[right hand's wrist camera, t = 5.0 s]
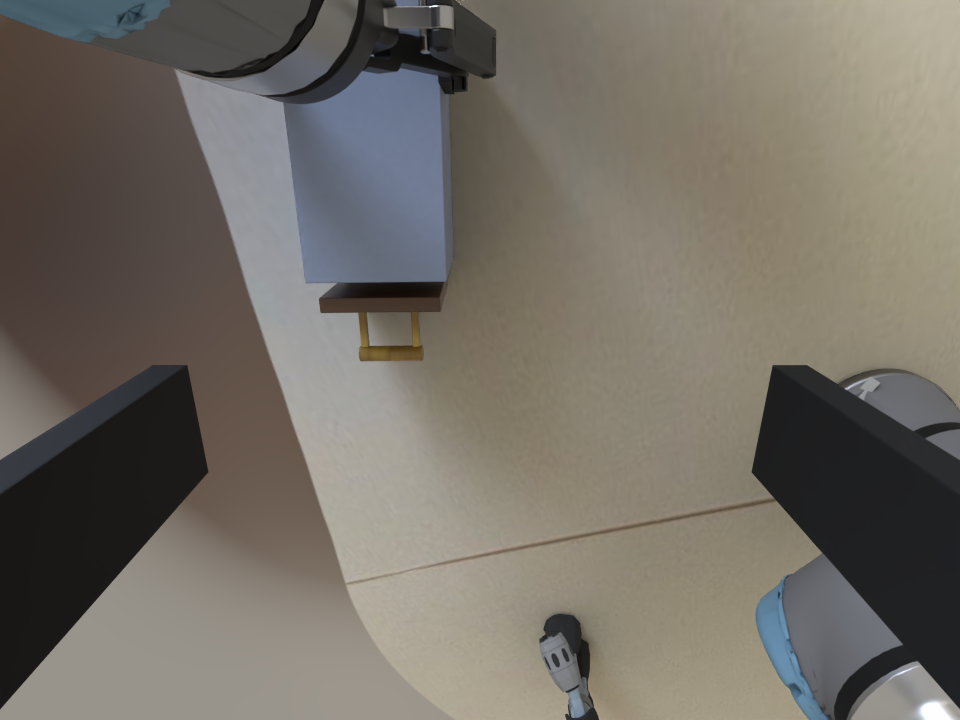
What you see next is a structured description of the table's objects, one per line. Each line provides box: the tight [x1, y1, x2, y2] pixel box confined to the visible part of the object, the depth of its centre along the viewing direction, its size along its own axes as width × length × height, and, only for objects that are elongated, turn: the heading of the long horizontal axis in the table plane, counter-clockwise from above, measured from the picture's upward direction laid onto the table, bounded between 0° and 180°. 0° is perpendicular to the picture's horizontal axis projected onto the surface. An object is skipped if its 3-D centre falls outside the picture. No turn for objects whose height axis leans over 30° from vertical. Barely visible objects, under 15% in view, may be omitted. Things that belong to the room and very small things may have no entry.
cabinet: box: [283, 0, 454, 283], centre depth 43 cm, size 20×11×11 cm, turn 1°
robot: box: [540, 614, 599, 720], centre depth 58 cm, size 20×5×20 cm, turn 21°
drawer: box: [319, 281, 448, 361], centre depth 45 cm, size 24×10×10 cm, turn 1°
